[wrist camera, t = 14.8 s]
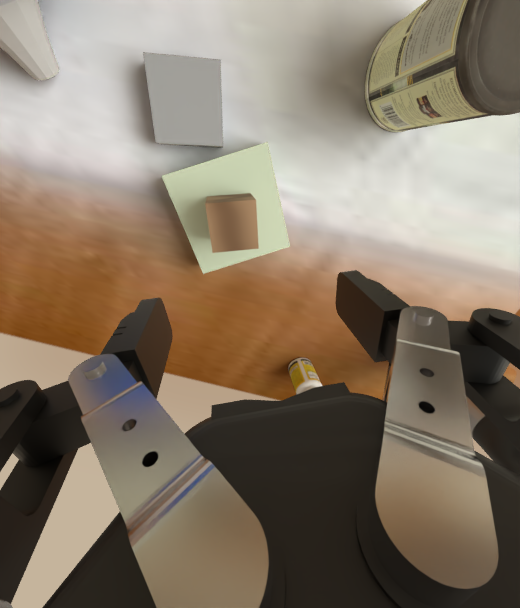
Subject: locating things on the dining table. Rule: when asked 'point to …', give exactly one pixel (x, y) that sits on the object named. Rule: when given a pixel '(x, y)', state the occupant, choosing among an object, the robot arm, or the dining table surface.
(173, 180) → the sage block
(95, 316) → the dining table surface
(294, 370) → the supplement bottle
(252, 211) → the walnut cube
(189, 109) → the slate block
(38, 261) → the dining table surface
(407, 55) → the coffee can
